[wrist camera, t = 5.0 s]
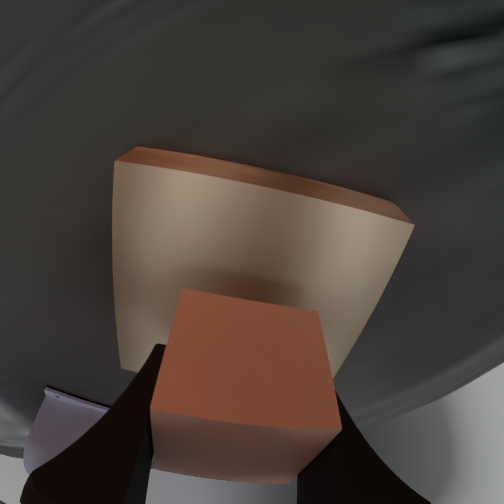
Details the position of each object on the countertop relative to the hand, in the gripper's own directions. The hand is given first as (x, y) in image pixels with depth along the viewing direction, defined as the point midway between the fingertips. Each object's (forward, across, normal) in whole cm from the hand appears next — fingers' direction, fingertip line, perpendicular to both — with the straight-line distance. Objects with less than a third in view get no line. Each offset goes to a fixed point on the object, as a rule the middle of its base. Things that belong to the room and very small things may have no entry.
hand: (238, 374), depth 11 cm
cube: (+2, 0, 0) cm, 2 cm away
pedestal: (+6, 0, 0) cm, 6 cm away
